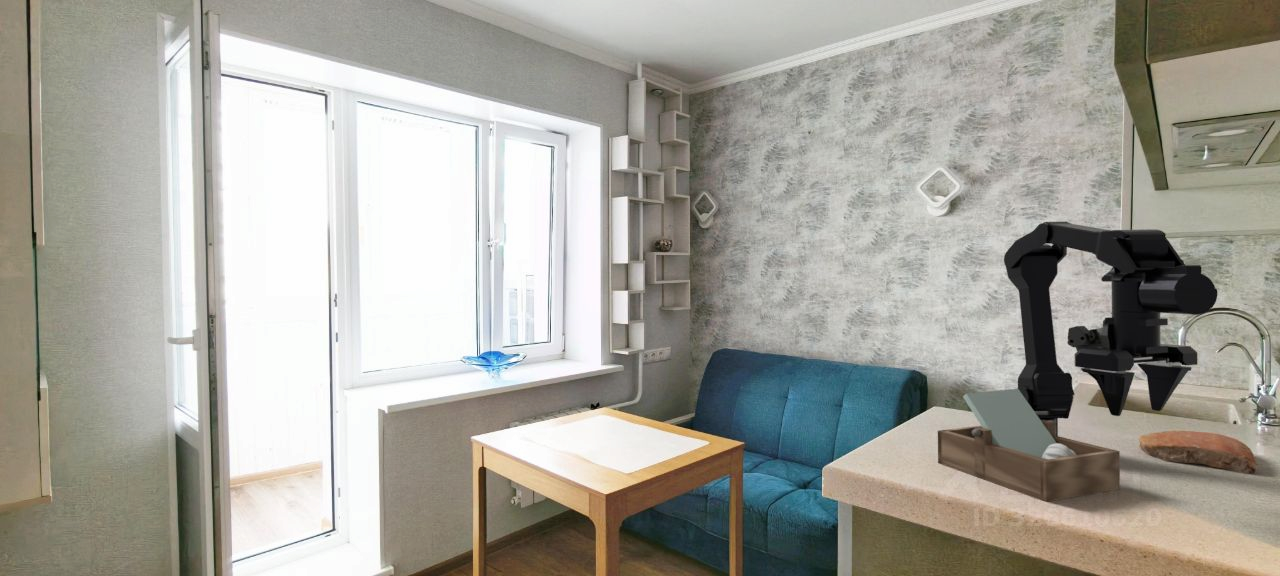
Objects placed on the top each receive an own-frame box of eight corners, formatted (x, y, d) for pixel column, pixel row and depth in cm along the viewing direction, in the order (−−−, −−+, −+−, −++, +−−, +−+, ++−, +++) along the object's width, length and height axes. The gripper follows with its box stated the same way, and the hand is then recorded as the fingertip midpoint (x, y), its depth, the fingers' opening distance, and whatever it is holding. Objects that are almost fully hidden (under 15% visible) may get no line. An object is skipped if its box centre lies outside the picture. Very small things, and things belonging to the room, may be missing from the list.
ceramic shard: (1139, 416, 118) (1245, 439, 108) (1134, 448, 118) (1239, 473, 108) (1144, 421, 106) (1263, 446, 97) (1138, 456, 106) (1256, 485, 97)
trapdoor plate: (1014, 391, 107) (1018, 388, 106) (1065, 464, 98) (1070, 461, 97) (962, 396, 103) (966, 393, 102) (1011, 472, 94) (1015, 470, 93)
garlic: (1030, 448, 94) (1064, 457, 89) (1053, 435, 96) (1087, 443, 91) (1038, 483, 95) (1072, 493, 90) (1061, 469, 97) (1095, 479, 92)
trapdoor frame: (1008, 453, 111) (1007, 410, 111) (1124, 487, 92) (1123, 435, 92) (933, 463, 106) (933, 418, 105) (1041, 502, 87) (1040, 447, 86)
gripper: (1120, 308, 101) (1121, 398, 101) (1040, 311, 95) (1041, 407, 95) (1199, 310, 90) (1200, 412, 91) (1115, 314, 85) (1115, 422, 85)
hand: (1136, 413), depth 91 cm, fingers open, 9 cm apart
